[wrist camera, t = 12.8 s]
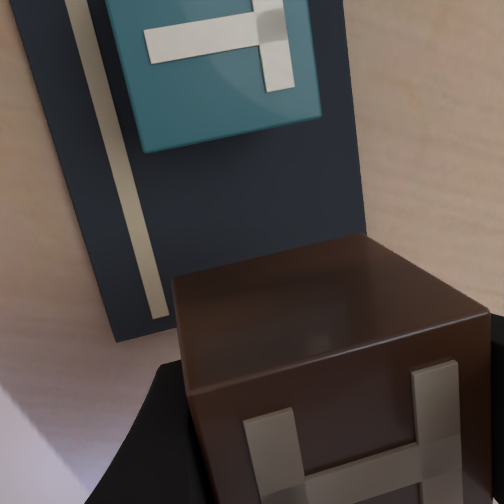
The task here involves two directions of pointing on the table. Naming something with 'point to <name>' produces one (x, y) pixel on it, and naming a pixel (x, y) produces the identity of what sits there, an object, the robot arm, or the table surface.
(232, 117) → the teal letter tile
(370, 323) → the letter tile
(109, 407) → the table surface
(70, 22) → the word mat
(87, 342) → the table surface
